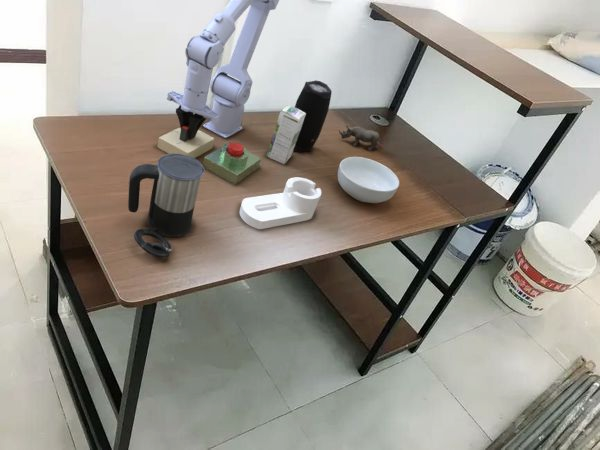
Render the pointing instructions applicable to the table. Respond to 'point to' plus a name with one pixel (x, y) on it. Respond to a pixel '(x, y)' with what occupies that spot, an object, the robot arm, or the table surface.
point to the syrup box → (286, 134)
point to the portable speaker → (312, 113)
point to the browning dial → (184, 133)
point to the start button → (235, 149)
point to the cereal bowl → (367, 179)
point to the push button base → (231, 164)
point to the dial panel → (185, 143)
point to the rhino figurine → (361, 136)
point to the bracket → (282, 205)
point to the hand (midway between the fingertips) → (187, 136)
